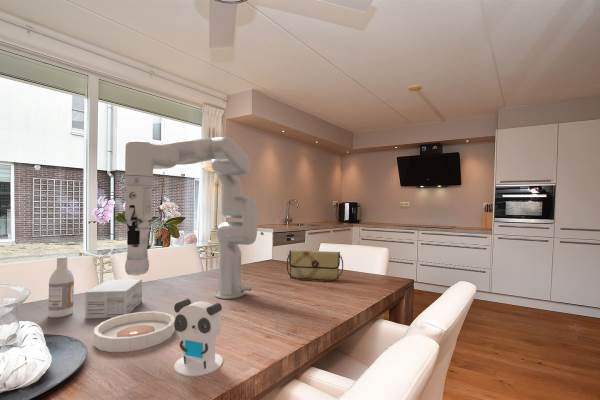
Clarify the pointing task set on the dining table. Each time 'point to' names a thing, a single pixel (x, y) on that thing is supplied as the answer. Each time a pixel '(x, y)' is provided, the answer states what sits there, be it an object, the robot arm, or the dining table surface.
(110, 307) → the supplement box
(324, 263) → the clutch purse
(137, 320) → the round tray
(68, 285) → the bath foam
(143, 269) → the plastic bottle
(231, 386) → the dining table surface
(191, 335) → the panda figurine
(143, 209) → the robot arm
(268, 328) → the dining table surface
